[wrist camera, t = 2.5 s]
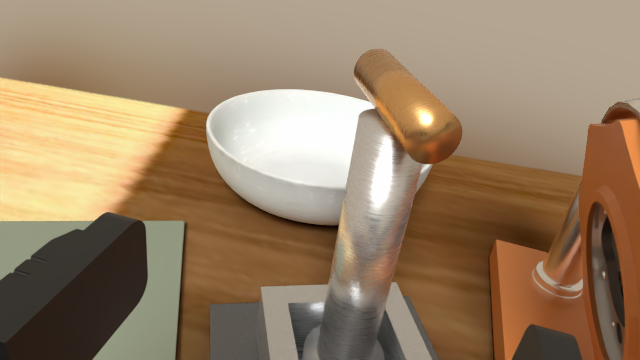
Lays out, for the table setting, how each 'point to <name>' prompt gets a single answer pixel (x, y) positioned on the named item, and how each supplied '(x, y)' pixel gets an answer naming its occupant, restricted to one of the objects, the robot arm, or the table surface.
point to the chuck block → (306, 326)
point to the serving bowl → (288, 150)
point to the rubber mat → (158, 299)
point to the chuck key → (378, 203)
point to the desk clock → (582, 255)
